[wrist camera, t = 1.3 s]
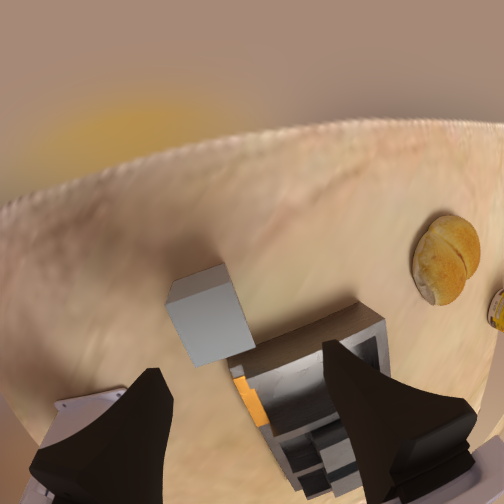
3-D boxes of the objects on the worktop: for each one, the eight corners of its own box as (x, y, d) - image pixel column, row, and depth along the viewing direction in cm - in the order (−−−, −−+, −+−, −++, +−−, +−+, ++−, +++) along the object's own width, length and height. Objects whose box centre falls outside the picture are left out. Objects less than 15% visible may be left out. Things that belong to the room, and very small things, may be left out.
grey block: (196, 333, 21) (195, 367, 16) (173, 281, 20) (164, 305, 15) (244, 316, 22) (256, 347, 17) (224, 262, 21) (230, 281, 16)
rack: (290, 480, 27) (303, 515, 21) (225, 356, 22) (233, 402, 16) (377, 442, 28) (398, 471, 22) (359, 301, 23) (400, 328, 17)
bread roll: (471, 255, 25) (496, 262, 21) (427, 312, 25) (452, 325, 21) (447, 195, 23) (476, 197, 19) (397, 255, 23) (426, 264, 19)
